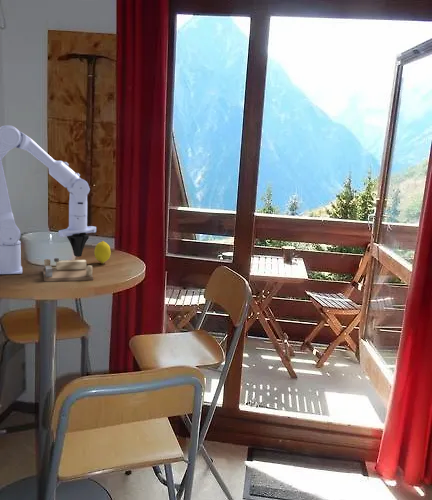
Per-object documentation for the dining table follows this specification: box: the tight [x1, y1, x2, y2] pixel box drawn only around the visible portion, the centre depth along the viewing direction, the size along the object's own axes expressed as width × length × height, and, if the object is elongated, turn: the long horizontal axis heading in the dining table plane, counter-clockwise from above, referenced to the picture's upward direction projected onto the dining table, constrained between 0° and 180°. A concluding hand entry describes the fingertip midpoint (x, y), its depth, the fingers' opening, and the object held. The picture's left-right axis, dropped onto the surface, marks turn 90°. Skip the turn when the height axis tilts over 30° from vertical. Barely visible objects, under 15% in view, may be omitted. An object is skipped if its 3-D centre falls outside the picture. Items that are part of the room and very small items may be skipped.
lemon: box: [93, 240, 112, 264], centre depth 169 cm, size 6×6×8 cm
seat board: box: [42, 258, 94, 283], centre depth 151 cm, size 14×12×4 cm
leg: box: [53, 257, 87, 270], centre depth 155 cm, size 10×2×3 cm, turn 112°
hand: (77, 256), depth 161 cm, fingers closed
